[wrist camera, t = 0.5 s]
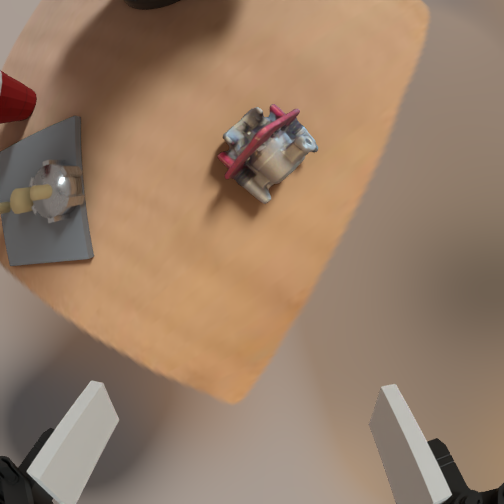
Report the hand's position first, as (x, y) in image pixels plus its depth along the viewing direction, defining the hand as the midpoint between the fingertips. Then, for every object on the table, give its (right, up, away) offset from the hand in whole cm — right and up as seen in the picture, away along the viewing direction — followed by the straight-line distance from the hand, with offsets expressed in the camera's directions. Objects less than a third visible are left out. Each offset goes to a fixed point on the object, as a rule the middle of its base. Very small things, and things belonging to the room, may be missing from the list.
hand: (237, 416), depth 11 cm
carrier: (-36, +17, +25) cm, 47 cm away
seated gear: (-28, +17, +23) cm, 40 cm away
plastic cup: (-40, +34, +21) cm, 57 cm away
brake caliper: (+2, +20, +23) cm, 31 cm away
